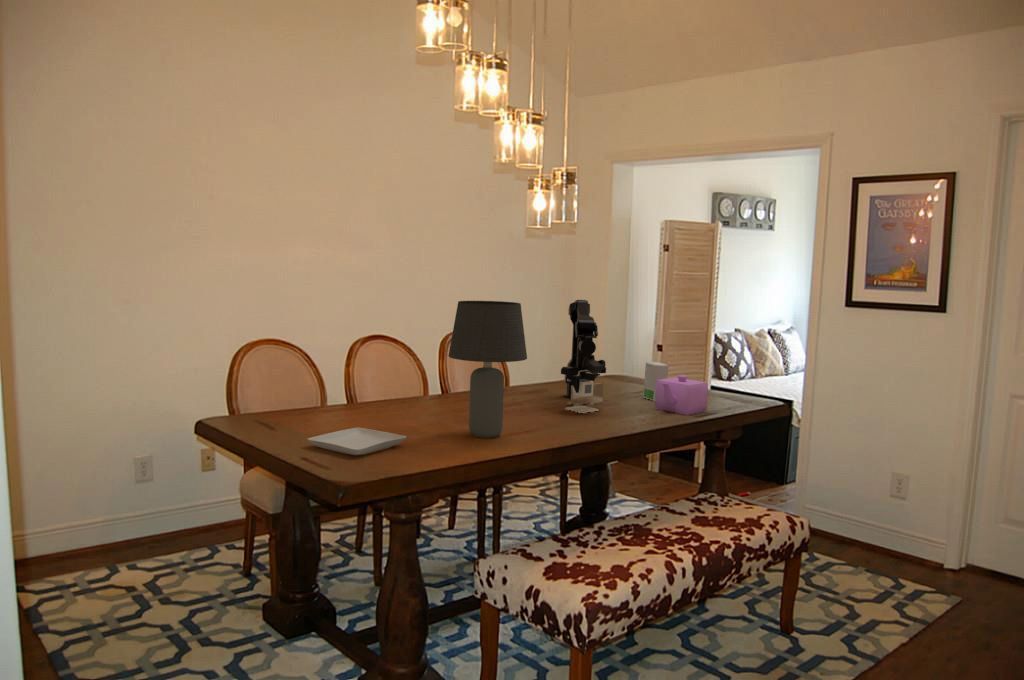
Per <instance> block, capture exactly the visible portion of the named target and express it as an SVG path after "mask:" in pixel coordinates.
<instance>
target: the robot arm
mask: <svg viewBox="0 0 1024 680" xmlns="http://www.w3.org/2000/svg"><path fill="white" fill-rule="evenodd" d="M590 313H591V304H590V303H589V301H588V300H586V299H576V300H574V301H573V302H571V303H569V306H568V316H569V319H570V321H571V324H572V336H571V337H572V338H571V339H572V342H571V356H570V358H571V359H570V360H569V361H568V362H567V364H566V365H567V366H562V367H561V368H560V374H561V375H564V376H563V377H564V383H565V384H566V394H563V397H565V398H570V399H571V386H572V385H573V387H574V389H575V392H576V393H578V392H579V382H580V380H581V379H585V380H590V381H594V382H595V380H596V379H597V378H598V377H600V376H601V374H607V367H606V361H605V360H604V359H599V360H596V359H595V358H596V357H595V355H594V353H595V352H596V349H597V346H596V343H595V341H593V340H594V339H597V338H598V335H599V331H598V330H599V329H598V325H597V323H596V322H595V319H594V317H593V316H591V315H590Z"/></svg>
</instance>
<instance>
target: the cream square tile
mask: <svg viewBox="0 0 1024 680" xmlns="http://www.w3.org/2000/svg"><path fill="white" fill-rule="evenodd" d="M565 410H566V411H569V410H571V411H570V412H573V411H575V412H574V413H577V412H578V414H580V413H583V414H588V413H587V412H591V413H595V412H594V411H599V410H600V409H597V408H596V407H595V408H594V407H591V406H588V405H580V406H568V407H567V406H566V407H565ZM599 412H600V411H599Z"/></svg>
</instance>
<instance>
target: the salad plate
mask: <svg viewBox="0 0 1024 680" xmlns="http://www.w3.org/2000/svg"><path fill="white" fill-rule="evenodd" d="M406 439H407V436H406V435H402V434H397V433H393V432H387V431H381V430H375V429H369V428H364V427H352V428H346V429H341V430H337V431H334V432H333V431H332V432H328V433H324V434H320V435H316V436H311V437H308V438H306V440H307V441H308V442H309V443H310V444H311V445H313V446H315V447H317V448H320V449H321V448H322V449H324V450H327V451H333V452H336V453H342V454H345V455H351V456H363V455H367V454H371V453H376V452H378V451H382V450H385V449H389V448H392V447H395V446H397V445H399V444H400V443H402V442H404V441H405V440H406Z"/></svg>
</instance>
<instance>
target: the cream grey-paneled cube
mask: <svg viewBox="0 0 1024 680" xmlns="http://www.w3.org/2000/svg"><path fill="white" fill-rule="evenodd" d="M594 383H595V380H594V381H590V380H585V379H581V380H580V382H579V392H578V393H576V392H575V389H574V387H573V395H578V396H582V397H584V396H593V385H594Z"/></svg>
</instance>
